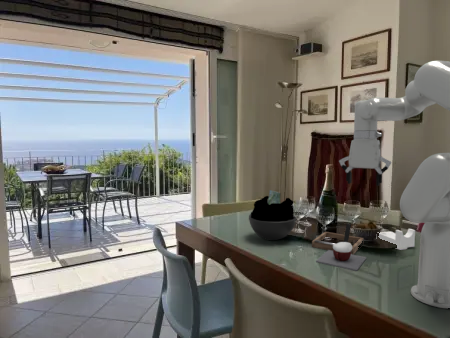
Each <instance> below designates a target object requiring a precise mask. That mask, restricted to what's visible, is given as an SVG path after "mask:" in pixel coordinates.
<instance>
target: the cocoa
mask: <svg viewBox="0 0 450 338" xmlns="http://www.w3.org/2000/svg"><path fill="white" fill-rule="evenodd" d="M351 227H352V223H348V222H347V223H346V225H345V231H344V234H343V235H344V241H338V242H337V243H334V245H333V254H334V257H335V258H336V259H337V260H339V261H347V260H348V259H349V258H350V256H351V250H352V246H353V245H352V243H351V242H348V240H349V236H350V234H351Z"/></svg>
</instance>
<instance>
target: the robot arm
mask: <svg viewBox="0 0 450 338" xmlns="http://www.w3.org/2000/svg"><path fill="white" fill-rule="evenodd" d="M404 94H405V95H404V96H402V97H379V96H378V97H371V98H369V99H366V100H359V101H357V102H356V103H355V104H354V120H353V121H354V122H353V123H354V125H353V126H354V127H353V140H351V141H350V142H351V143H350V148H349V155H348V156H345V157H343V158H341V159H339V160H338V162H339V164H340V166H341V168H342V170H344V171H345V173H346V175H345V176H346V178H345V179H346V180H345V181H346V182H347V184H348V185H349V184H351V183H353V181H352V180H353V179H352V177H353V175H352V174H353V173H352V170H353V169H374V170H375V171H376V172H377V174H376V183H375V184H376V186H378V187H379V186H381V184H382V183H383V174H384V173H385V172H386V171H387V170H389V168H390V166H391V165H392V161H391V160H389V159H387V158H385V157H383V156H381V143H380V140H379V139H378V138H379V137H382V132H379V131H378V121H379V122H381V121H385V122H386V121H387V122H388V121H389V122H391V121H392V122H397V121H403V120H407V119H409V118H412V117H416V116H417V115H419V114H421V113H422V112H423V111H424V110H425V109H426V108H427V107H430V106H433V105H436V104H437V105H439V106H440V107H442V108H444V109H445V110H448V111H449V112H450V61H447V60H431V61H429V62H426V63H423V65H421V66H420V67H419V68H418V70H417V71H416V73H415V75H414V78H413V80H411V81H410V82H409V83H408V84H407V86H406V87H405V91H404ZM347 161H348V166H347V164H345V163H346V162H347ZM381 162H383V163H384V164H385V165H384V166H383V168H381ZM399 209H400V212H401V215H402V216H403V218H405V219H406V220H408V221H410V222H413V223H417V224H419V223H421V224H423V223H424V224H423V226H422V228H421V233H420V244H419V258H418V272H417V273H418V275H417V284H415V285H413V286H411V288H410V294H411V295H412V297H414V299H415V300H418V301H419V302H421V303H424V304H426V305H428V306H432V307H435V308H436V307H437V308H439V309H448V308H450V152H439V153H434V154H431V155H430V156H428V157H427V158H425V159H424V160H423V161H422V162H421V163H420V164H419V165H418V168H417V169H416V171H415V172H414V174H413V176H411V179H410V180H409V181H408V183H407V185H406V187H405V188H404V190H403V192H402V193H401V196H400V200H399Z"/></svg>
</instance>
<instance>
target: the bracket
mask: <svg viewBox="0 0 450 338" xmlns="http://www.w3.org/2000/svg"><path fill="white" fill-rule="evenodd" d="M379 232H380V231H379ZM379 232H378V233H379ZM403 232H404V231H402V230H399V229H395V232H393V231H391V230H390V231H381V232H380V233H379V236H378V237H379V238H380V239H382V240H385V241H388V242H390V243H393V244H396V245H397V248H396V249H397V250H399V251H400V250H401V251H402V250H408V248H414V247H415V242H416V241H415V240H416V230H415V229H412V228H407V231H406V233H405V234H404V233H403Z"/></svg>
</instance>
